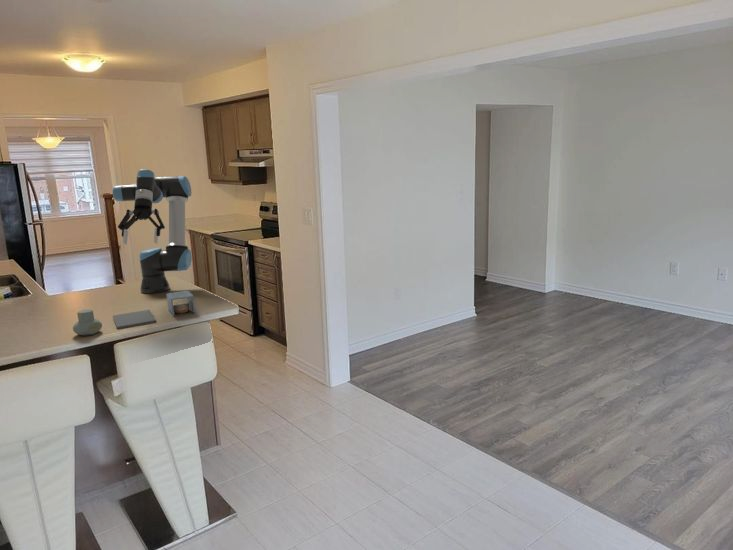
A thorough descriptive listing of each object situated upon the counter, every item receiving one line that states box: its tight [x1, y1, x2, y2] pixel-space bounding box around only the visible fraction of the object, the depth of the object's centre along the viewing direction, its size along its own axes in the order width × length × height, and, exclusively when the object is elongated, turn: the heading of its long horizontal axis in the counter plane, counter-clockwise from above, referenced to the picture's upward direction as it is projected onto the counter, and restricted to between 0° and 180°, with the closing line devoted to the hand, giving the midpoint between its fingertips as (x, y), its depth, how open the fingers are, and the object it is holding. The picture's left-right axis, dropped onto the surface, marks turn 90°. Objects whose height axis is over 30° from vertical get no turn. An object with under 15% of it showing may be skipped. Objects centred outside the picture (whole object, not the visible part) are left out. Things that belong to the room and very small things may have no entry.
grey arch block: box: [166, 290, 196, 318], centre depth 248 cm, size 12×10×9 cm
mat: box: [112, 309, 157, 330], centre depth 238 cm, size 20×16×1 cm
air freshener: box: [72, 308, 103, 336], centre depth 221 cm, size 11×8×10 cm
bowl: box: [173, 302, 190, 314], centre depth 248 cm, size 7×7×4 cm
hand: (140, 243), depth 237 cm, fingers open, 13 cm apart
